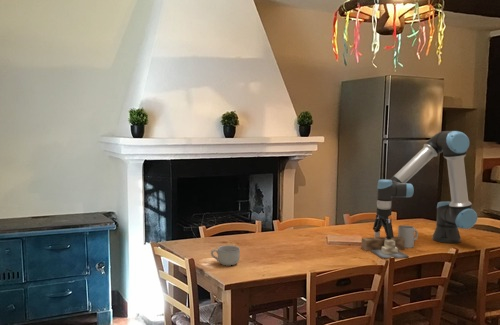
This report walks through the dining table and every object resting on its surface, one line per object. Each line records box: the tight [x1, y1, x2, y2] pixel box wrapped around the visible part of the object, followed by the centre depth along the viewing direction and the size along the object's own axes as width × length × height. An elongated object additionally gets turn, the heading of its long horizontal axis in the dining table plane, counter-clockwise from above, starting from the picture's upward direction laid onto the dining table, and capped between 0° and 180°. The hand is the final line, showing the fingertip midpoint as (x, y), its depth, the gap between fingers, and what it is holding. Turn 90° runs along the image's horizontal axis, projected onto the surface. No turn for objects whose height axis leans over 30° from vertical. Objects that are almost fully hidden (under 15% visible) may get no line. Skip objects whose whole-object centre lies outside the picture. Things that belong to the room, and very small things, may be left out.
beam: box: [360, 236, 405, 252], centre depth 258 cm, size 22×6×6 cm, turn 99°
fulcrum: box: [370, 240, 410, 260], centre depth 246 cm, size 14×14×8 cm
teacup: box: [210, 244, 241, 267], centre depth 227 cm, size 14×11×8 cm
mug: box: [397, 224, 419, 249], centre depth 265 cm, size 12×8×11 cm
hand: (382, 246), depth 258 cm, fingers open, 13 cm apart
